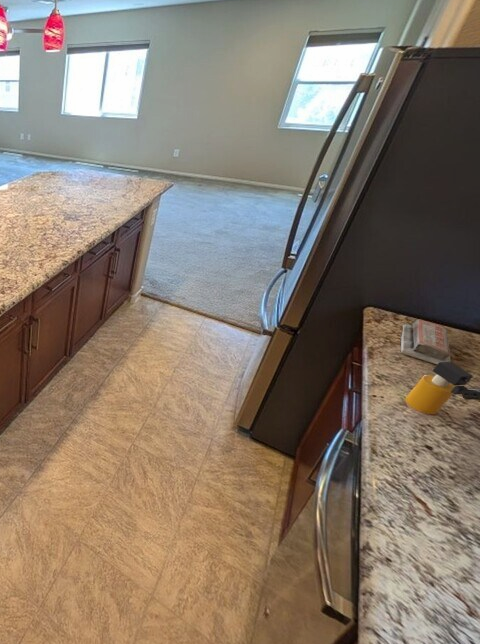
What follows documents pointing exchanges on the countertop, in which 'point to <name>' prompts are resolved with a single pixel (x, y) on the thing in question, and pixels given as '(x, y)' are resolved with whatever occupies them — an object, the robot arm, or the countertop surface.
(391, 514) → the countertop surface
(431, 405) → the spray bottle
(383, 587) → the countertop surface
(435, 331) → the packaged product
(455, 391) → the trigger
